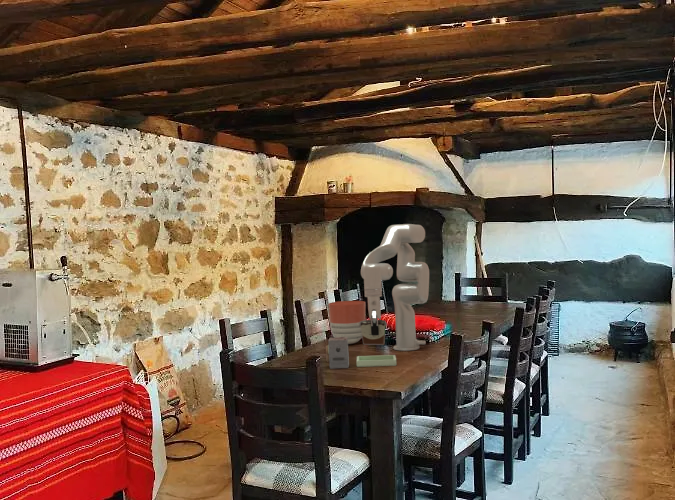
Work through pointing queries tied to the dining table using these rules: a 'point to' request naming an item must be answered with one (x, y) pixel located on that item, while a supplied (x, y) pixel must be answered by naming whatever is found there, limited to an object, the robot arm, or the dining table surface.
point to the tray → (376, 360)
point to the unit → (338, 352)
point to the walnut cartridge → (327, 354)
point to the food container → (372, 339)
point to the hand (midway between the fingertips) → (374, 333)
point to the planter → (347, 319)
